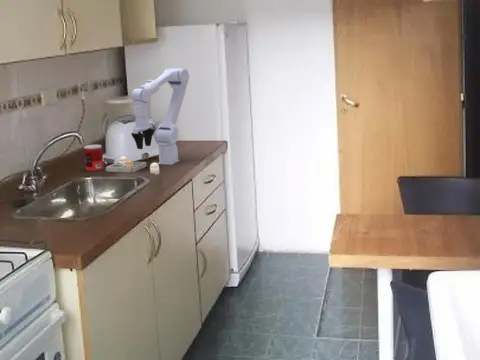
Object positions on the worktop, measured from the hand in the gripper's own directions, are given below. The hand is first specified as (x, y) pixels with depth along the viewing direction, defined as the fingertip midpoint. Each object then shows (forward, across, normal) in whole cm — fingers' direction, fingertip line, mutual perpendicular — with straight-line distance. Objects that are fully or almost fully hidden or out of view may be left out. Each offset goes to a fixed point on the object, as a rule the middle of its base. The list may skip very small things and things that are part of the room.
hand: (144, 147), depth 296 cm
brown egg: (+9, +6, -5) cm, 12 cm away
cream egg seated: (+9, -1, -11) cm, 14 cm away
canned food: (+10, +6, -22) cm, 25 cm away
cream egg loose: (+10, +7, +8) cm, 15 cm away
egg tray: (+10, +2, -8) cm, 13 cm away
